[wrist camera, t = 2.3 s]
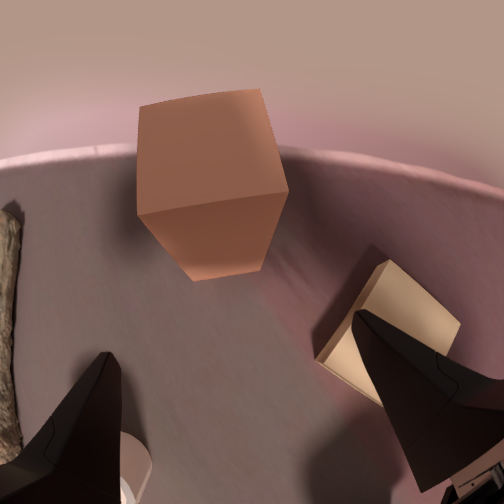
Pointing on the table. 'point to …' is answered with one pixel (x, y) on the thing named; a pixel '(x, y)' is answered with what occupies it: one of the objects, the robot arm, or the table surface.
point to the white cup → (133, 468)
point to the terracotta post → (210, 181)
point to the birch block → (394, 312)
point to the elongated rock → (8, 336)
